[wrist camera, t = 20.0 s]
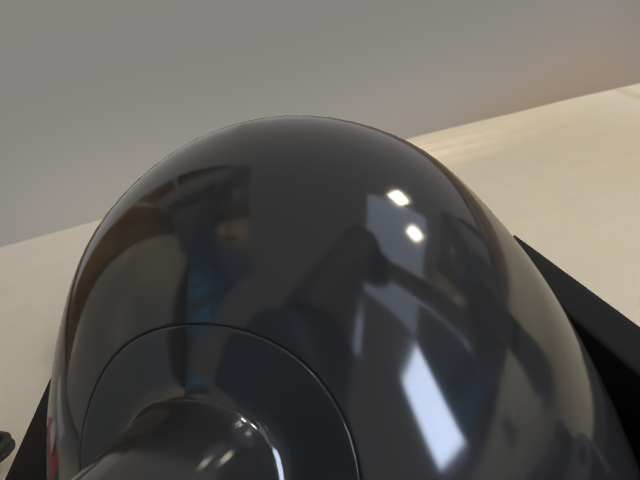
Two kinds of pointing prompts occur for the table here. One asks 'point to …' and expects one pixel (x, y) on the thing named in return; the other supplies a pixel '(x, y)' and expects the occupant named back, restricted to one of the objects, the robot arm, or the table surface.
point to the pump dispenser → (318, 326)
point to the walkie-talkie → (6, 445)
